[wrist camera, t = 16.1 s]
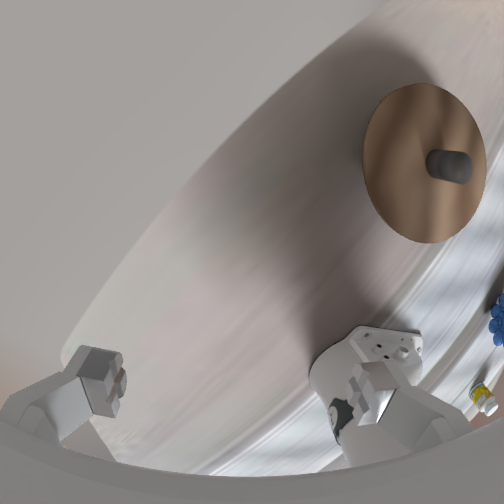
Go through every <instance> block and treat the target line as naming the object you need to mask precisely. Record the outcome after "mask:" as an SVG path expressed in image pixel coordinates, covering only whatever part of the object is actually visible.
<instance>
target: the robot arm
mask: <svg viewBox="0 0 504 504" xmlns="http://www.w3.org/2000/svg"><path fill="white" fill-rule="evenodd" d="M366 333H367V334H366ZM365 334H366V335H365ZM422 350H423V339H422V337H421V335H420V334H415V333H407V332H400V331H393V330H386V329H380V328H373V327H367V326H358V327H356V328H355V329H354V330H353V331H352V332H351V333H350V334H349V335H348V336H347V337H346V338H345V339H343V340H342V341H340V342H338V343H336V344H334V345H333V346H331V347H330V348H328V349H327V350H326V351H324V352H323V353H322V354H321V355H320V356H319V357H318V358H317V360H316V361H315V362H314V364H313V366H312V368H311V371H310V375H309V381H310V385H311V387H312V388H313V390H314V391H315V392H316V393H317V394H318V396H319V397H320V398H321V400H322V402H323V403H324V405H325V407H326V409H327V411H328V418H329V423H330V426H331V428H332V431H333V434H334V436H335V439H336V441H337V443H338V444H339V445H340V446H341V448H342V451H343V454H344V457H345V461H346V464H347V467H348V468H346V469H340V470H334V471H327V472H319V473H310V474H300V475H287V476H267V477H228V476H209V475H196V474H186V473H177V472H169V471H162V470H156V469H149V468H144V467H138V466H133V465H128V464H124V463H119V462H115V461H111V460H106V459H103V458H99V457H95V456H92V455H88V454H84V453H81V452H78V451H75V450H72V449H69V448H66V447H64V446H63V444H62V443H61V440H62V439H64V438H65V437H66V436H67V435H69V434H70V433H71V432H73V431H74V430H75V429H76V428H77V427H79V426H80V425H82V423H84V422H85V421H86V420H88V419H89V418H90V417H92V416H93V414H96V415H100V416H105V417H110V418H116V415H117V412H118V410H119V407H120V402H119V398H121V397H123V396H124V393H125V390H126V383H127V380H126V372H125V370H124V369H123V368H122V367H121V366H122V363H123V358H122V354H121V353H120V352H116V351H110V350H105V349H100V348H96V347H90V346H85V345H81V346H80V347H79V348H78V349H77V351H76V352H75V354H74V355H73V357H72V358H71V360H70V362H69V363H68V365H67V366H66V368H65V369H64V371H63V373H62V372H58V373H55V374H53V375H51V376H49V377H47V378H45V379H43V380H41V381H39V382H37V383H35V384H33V385H31V386H29V387H26V388H24V389H22V390H20V391H18V392H16V393H14V394H12V395H10V396H9V398H8V399H7V401H6V402H5V404H4V405H3V407H2V408H1V410H0V504H504V417H502V418H500V419H498V420H496V421H494V422H492V423H490V424H488V425H486V426H483V427H481V428H479V429H477V430H474V429H473V427H472V426H471V424H470V423H469V421H468V420H467V419H466V417H465V416H464V414H463V413H462V411H461V410H459V409H457V408H455V407H453V406H452V405H450V404H448V403H446V402H444V401H442V400H440V399H438V398H437V397H435V396H433V395H431V394H429V393H427V392H425V391H424V390H422V389H420V388H418V387H416V386H417V384H418V382H419V379H420V377H421V373H422V360H421V354H422Z"/></svg>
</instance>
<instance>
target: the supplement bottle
mask: <svg viewBox="0 0 504 504" xmlns="http://www.w3.org/2000/svg"><path fill="white" fill-rule="evenodd" d="M469 397H470V399H471V400H472V401H473V402H474V404H475V405H476V406H477V408H478V409H479V410H480V411H481V412H485V414H486V415H487V416H490V415H491V414H492V413H493V412H494V411H495V410H496V409H497V407H498V404H497V403H496V402H495V397H494V396H493V394H492V393H491V392H490V391H489V390H488V388H487V387H486V386H485V385H484V384H483V383H478V384H477V385H475V386H474V387H473V388H472V389H471V391H470V393H469Z"/></svg>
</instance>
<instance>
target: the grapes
mask: <svg viewBox="0 0 504 504" xmlns="http://www.w3.org/2000/svg"><path fill="white" fill-rule="evenodd" d="M498 303H499V305H498V304H495V305H493V306H492V308H491V315H492V317H493V318H494V319H492V320H491V321H490V323H489V330H490V332H491V333H492V334H493V333H495V334H494V336H493V341H494V344H495V345H496V346H500V345H501V344H502V343H503V346H504V293H502V294H501V295H500V297H499V299H498Z"/></svg>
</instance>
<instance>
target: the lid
mask: <svg viewBox="0 0 504 504" xmlns="http://www.w3.org/2000/svg"><path fill="white" fill-rule="evenodd" d="M362 163H363V173H364V179H365V184H366V187H367V190H368V194H369V196H370V198H371V201H372V203H373V205H374V207H375V209H376V210H377V212H378V214H379V215H380V216H381V218H382V219H383V220H384V221H385V222H386V223H387V224H388V225H389V226H390V227H391V228H392V229H393V230H394V231H396V232H397V233H399V234H400V235H402V236H404V237H406V238H408V239H410V240H412V241H415V242H420V243H436V242H441V241H444V240H446V239H448V238H450V237H452V236H454V235H455V234H457V233H458V232H459V231H461V230H462V229H463V228H464V227H465V226H466V225H467V223H468V222H469V221H470V220H471V218H472V217H473V215H474V213H475V212H476V210H477V208H478V206H479V203H480V201H481V198H482V195H483V191H484V187H485V181H486V154H485V148H484V143H483V139H482V136H481V133H480V131H479V128H478V126H477V124H476V122H475V120H474V118H473V117H472V115H471V114H470V112H469V111H468V109H467V108H466V107H465V106H464V105H463V103H462V102H461V101H460V100H459V99H457V98H456V97H455V96H454V95H452V94H451V93H450V92H448V91H446V90H444V89H442V88H440V87H437V86H434V85H430V84H412V85H408V86H404V87H402V88H399V89H397V90H395V91H393V92H392V93H390V94H389V95H388V96H386V97H385V98H384V99H383V100H382V101H381V102H380V104H379V105H378V106H377V108H376V109H375V111H374V113H373V114H372V116H371V118H370V121H369V123H368V126H367V129H366V133H365V136H364V142H363V153H362Z"/></svg>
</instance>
